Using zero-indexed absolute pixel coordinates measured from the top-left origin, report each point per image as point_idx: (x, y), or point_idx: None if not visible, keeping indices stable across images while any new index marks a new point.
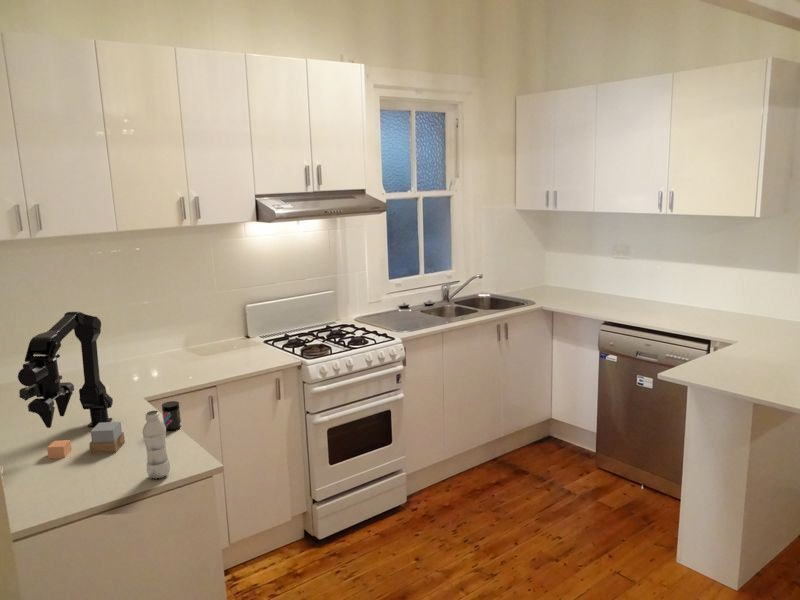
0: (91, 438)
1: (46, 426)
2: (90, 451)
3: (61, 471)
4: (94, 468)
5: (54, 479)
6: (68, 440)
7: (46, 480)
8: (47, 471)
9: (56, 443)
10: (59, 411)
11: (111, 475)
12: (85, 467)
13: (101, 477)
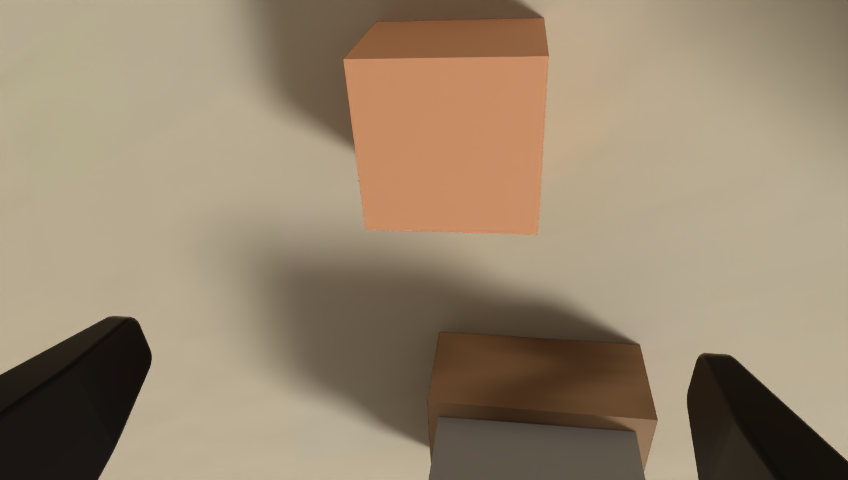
0: (433, 452)
1: (83, 336)
2: (437, 349)
3: (161, 236)
4: (233, 399)
5: (51, 236)
6: (523, 224)
7: (21, 190)
8: (139, 135)
9: (455, 123)
10: (735, 450)
11: (172, 476)
12: (239, 354)
13: (143, 446)
